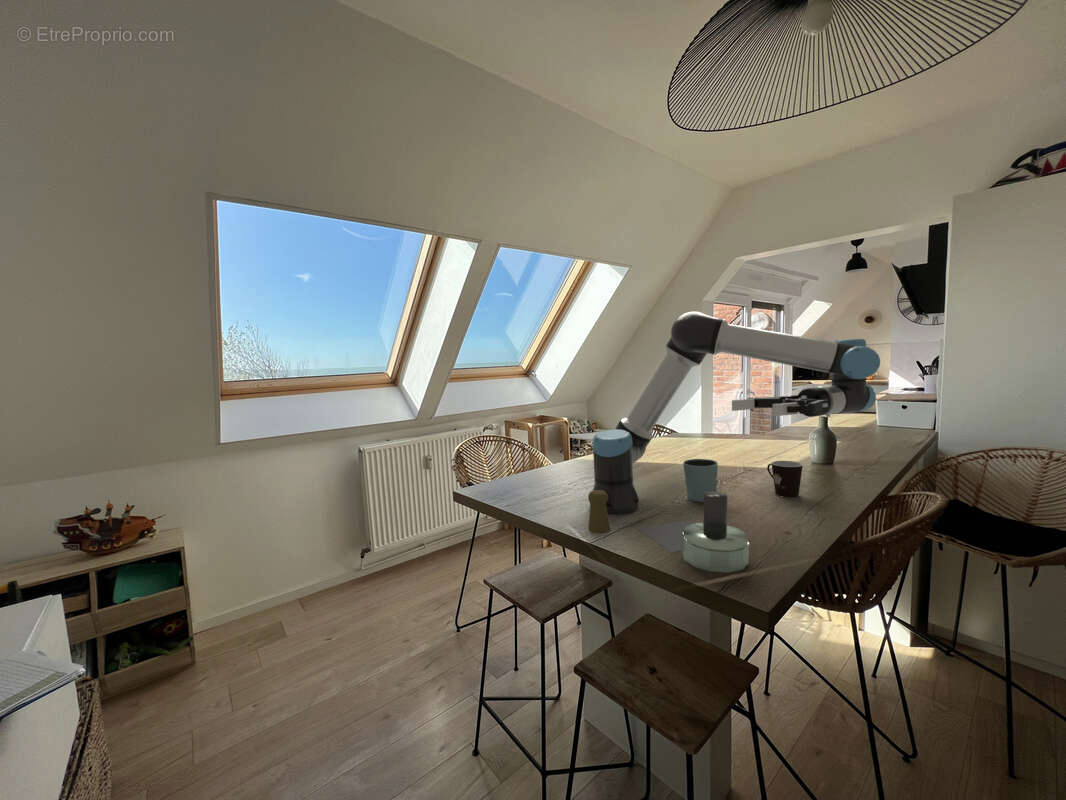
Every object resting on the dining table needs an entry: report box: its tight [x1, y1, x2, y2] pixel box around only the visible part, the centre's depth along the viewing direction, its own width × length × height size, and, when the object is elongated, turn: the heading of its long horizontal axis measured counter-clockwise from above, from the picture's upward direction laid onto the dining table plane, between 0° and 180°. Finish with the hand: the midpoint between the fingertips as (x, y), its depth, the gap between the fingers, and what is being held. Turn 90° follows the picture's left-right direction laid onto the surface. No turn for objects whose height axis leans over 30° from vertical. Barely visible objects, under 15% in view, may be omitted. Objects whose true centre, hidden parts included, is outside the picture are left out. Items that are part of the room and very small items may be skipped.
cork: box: [587, 489, 611, 534], centre depth 120 cm, size 6×6×11 cm
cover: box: [682, 491, 750, 574], centre depth 99 cm, size 13×13×15 cm
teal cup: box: [682, 458, 719, 503], centre depth 141 cm, size 10×10×12 cm
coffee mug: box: [766, 460, 804, 498], centre depth 143 cm, size 12×9×10 cm
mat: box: [636, 519, 696, 554], centre depth 114 cm, size 16×16×1 cm
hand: (752, 407), depth 111 cm, fingers open, 13 cm apart
